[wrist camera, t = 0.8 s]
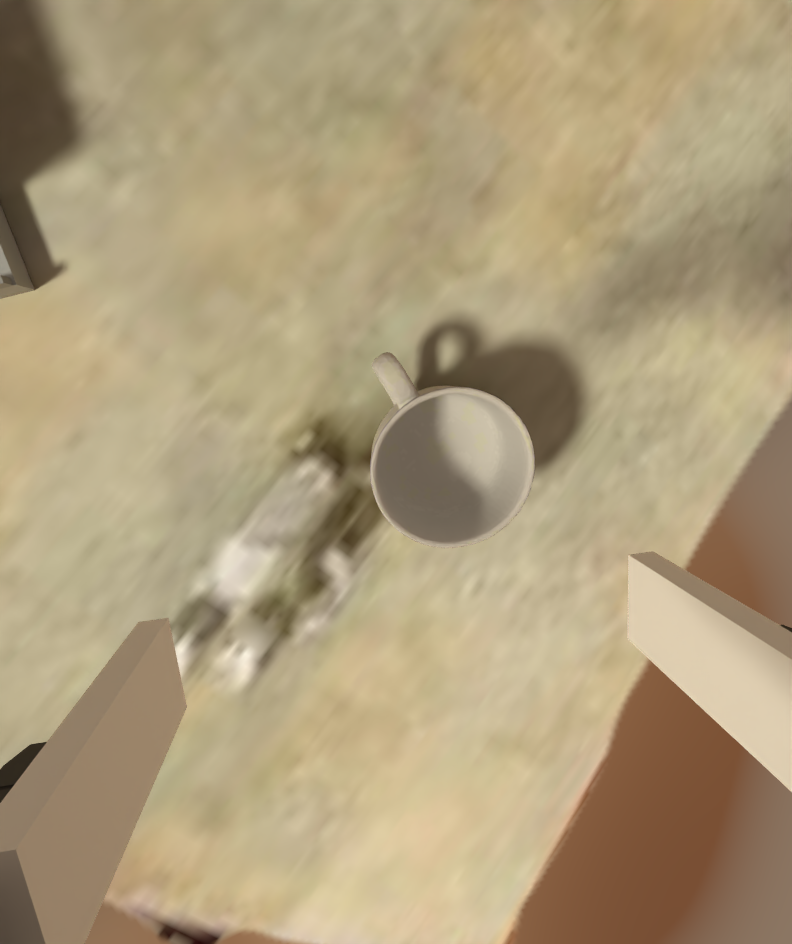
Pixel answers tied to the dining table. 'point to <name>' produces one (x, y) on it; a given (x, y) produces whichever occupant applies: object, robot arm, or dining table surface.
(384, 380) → the teacup
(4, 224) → the panel
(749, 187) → the dining table surface
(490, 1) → the dining table surface
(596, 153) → the dining table surface
